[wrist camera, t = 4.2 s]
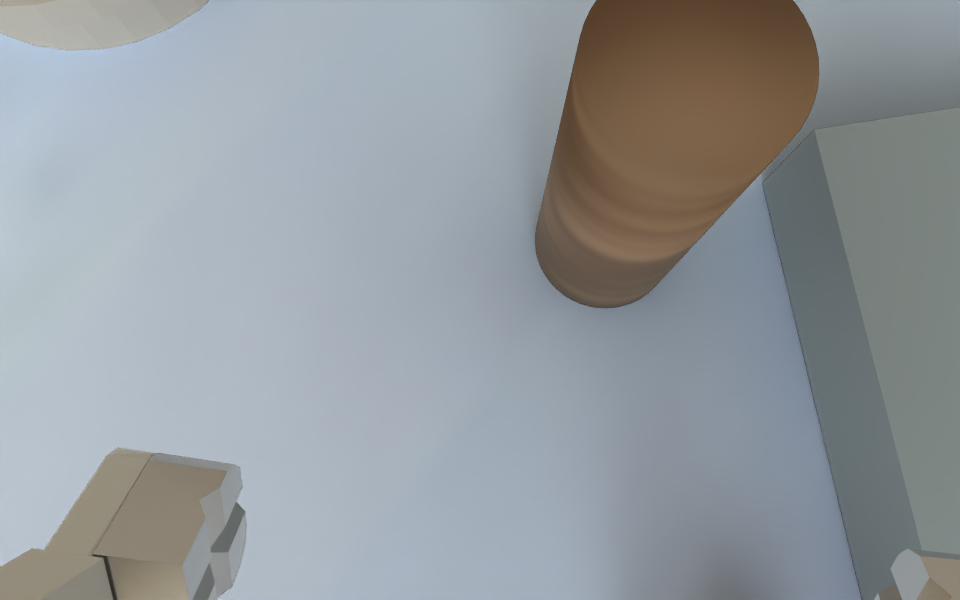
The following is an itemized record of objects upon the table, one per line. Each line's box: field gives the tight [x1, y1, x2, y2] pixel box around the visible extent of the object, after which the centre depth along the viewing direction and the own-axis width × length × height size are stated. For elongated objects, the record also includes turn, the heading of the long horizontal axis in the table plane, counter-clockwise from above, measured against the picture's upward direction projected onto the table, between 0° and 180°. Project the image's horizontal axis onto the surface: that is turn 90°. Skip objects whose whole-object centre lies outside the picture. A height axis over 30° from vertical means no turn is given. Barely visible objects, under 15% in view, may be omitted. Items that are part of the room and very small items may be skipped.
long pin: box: [535, 0, 819, 308], centre depth 19 cm, size 4×4×11 cm
